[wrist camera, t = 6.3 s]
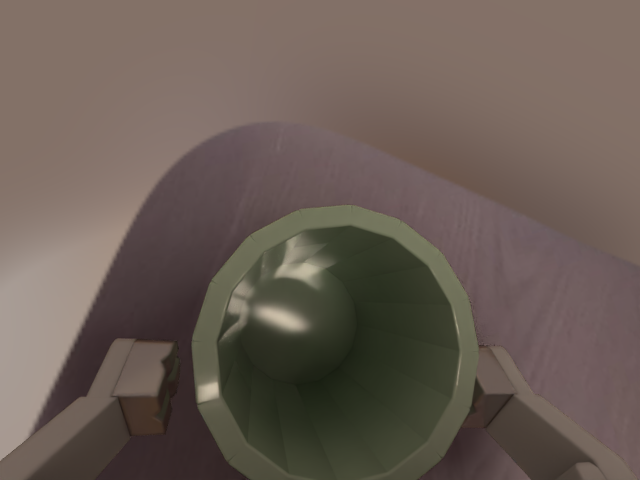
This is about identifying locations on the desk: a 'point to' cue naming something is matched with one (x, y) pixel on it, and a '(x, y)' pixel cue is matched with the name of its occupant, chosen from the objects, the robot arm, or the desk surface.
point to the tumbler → (335, 350)
